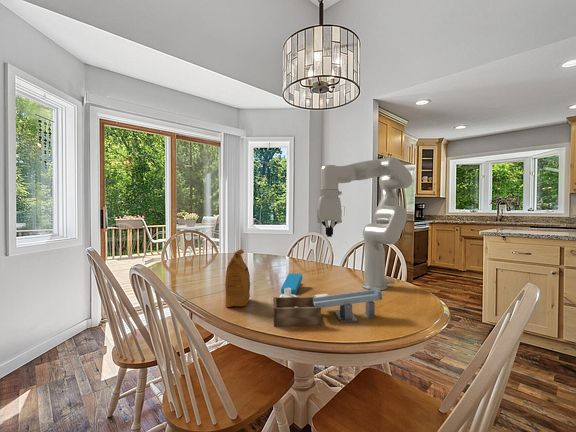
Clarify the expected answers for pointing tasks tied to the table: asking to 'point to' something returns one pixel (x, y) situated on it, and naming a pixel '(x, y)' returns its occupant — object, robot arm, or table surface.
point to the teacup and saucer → (287, 293)
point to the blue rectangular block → (292, 282)
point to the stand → (347, 315)
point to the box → (296, 311)
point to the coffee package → (237, 281)
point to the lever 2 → (347, 298)
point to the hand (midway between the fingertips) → (329, 236)
